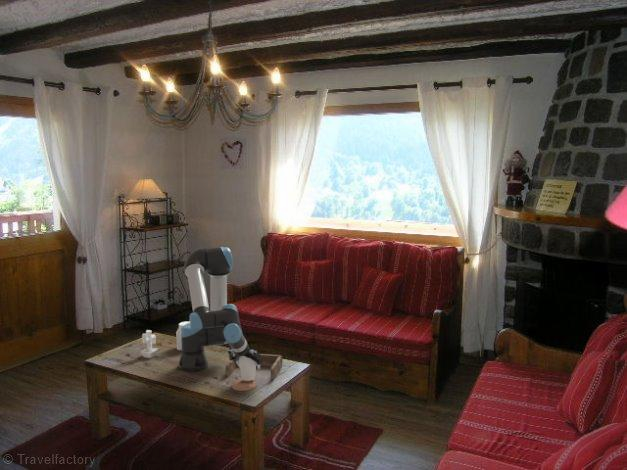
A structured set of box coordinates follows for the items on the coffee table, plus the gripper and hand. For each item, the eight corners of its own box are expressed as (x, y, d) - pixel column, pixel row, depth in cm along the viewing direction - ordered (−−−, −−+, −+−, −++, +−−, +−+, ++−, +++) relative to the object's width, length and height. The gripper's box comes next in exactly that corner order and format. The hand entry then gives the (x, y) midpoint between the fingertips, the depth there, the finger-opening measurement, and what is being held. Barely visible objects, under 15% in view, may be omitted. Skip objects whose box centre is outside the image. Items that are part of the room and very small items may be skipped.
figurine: (160, 354, 286) (159, 328, 285) (149, 360, 278) (148, 333, 276) (150, 352, 289) (148, 327, 287) (138, 358, 280) (137, 332, 278)
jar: (173, 349, 295) (172, 324, 293) (184, 344, 303) (184, 319, 301) (189, 352, 290) (188, 327, 288) (200, 347, 298) (199, 322, 296)
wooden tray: (237, 362, 274) (237, 352, 273) (282, 366, 270) (282, 355, 269) (226, 376, 257) (225, 364, 256) (273, 379, 252) (273, 368, 252)
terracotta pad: (236, 379, 253) (236, 378, 253) (259, 381, 251) (259, 380, 250) (228, 389, 241) (228, 388, 241) (252, 391, 239) (252, 390, 239)
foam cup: (247, 373, 256) (247, 348, 255) (261, 377, 251) (261, 352, 250) (234, 379, 249) (234, 353, 247) (248, 383, 243) (248, 357, 242)
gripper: (214, 351, 234) (227, 371, 252) (260, 354, 231) (269, 374, 248) (218, 336, 239) (230, 357, 256) (263, 339, 235) (272, 359, 253)
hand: (249, 365), depth 252 cm, fingers closed on foam cup, 9 cm apart
